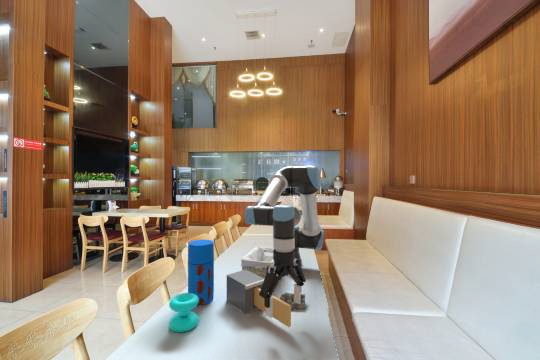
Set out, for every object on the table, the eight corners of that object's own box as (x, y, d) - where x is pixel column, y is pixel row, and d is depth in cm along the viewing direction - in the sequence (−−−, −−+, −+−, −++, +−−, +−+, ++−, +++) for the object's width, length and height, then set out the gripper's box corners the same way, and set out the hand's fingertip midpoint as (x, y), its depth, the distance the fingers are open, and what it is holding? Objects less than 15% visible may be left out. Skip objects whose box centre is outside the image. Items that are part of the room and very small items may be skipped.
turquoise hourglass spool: (170, 293, 94) (198, 290, 97) (170, 320, 94) (198, 316, 97) (167, 306, 85) (198, 302, 87) (167, 336, 85) (198, 331, 87)
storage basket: (272, 294, 116) (272, 261, 116) (239, 289, 120) (239, 258, 120) (284, 274, 139) (284, 248, 138) (256, 271, 143) (256, 245, 143)
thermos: (191, 294, 115) (191, 239, 115) (215, 293, 116) (215, 239, 116) (185, 306, 104) (185, 246, 104) (211, 305, 105) (211, 245, 105)
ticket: (250, 302, 103) (250, 285, 103) (253, 301, 104) (253, 284, 104) (288, 327, 86) (288, 306, 86) (291, 325, 87) (291, 305, 87)
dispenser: (226, 300, 109) (226, 274, 109) (245, 293, 115) (245, 269, 115) (246, 315, 98) (246, 286, 97) (266, 306, 104) (266, 279, 104)
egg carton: (278, 307, 104) (278, 297, 104) (282, 299, 111) (282, 289, 111) (304, 310, 101) (304, 300, 101) (306, 302, 108) (306, 292, 108)
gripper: (300, 240, 100) (300, 294, 100) (248, 253, 84) (248, 317, 84) (315, 244, 94) (315, 301, 94) (262, 259, 78) (263, 327, 78)
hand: (283, 308), depth 89 cm, fingers open, 13 cm apart
